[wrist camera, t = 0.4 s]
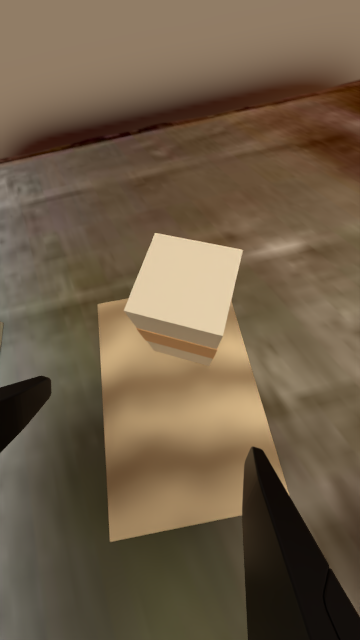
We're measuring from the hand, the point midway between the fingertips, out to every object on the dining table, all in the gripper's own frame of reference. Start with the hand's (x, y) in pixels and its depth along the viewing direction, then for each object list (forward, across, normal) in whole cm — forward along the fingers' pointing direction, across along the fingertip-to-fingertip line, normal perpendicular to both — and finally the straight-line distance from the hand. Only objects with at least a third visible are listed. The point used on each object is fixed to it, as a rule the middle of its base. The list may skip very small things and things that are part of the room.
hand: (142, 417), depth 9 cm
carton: (+13, 0, +2) cm, 13 cm away
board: (+11, 0, +7) cm, 13 cm away
